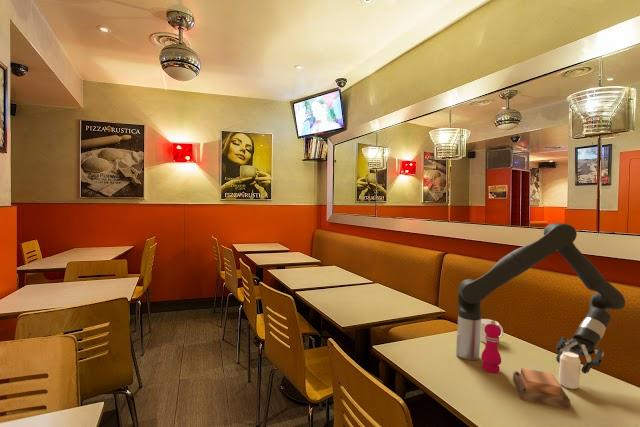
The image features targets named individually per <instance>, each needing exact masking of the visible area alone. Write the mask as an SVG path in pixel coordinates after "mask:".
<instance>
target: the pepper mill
mask: <svg viewBox="0 0 640 427" xmlns="http://www.w3.org/2000/svg"><path fill="white" fill-rule="evenodd" d="M491 320H492V321H491V324H487V325H486V326H485V333H486V334H487V335H486V340H487V343H485V347H484V349H483V351H482V353H481V356H480V358H481V361H482V364H481V368H482V369H483V370H484V372H487V373H490V374H491V373H492V374H498V373H499V372H500V366H499V365H501V364H502V357H501V354H500V352H499V347H498V343H499V342H500V338H499V336H500V335H501V329H500V327H499V326H497V325H495V324H496V322H497V321H496V320H493V319H491ZM495 321H496V322H495Z"/></svg>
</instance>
